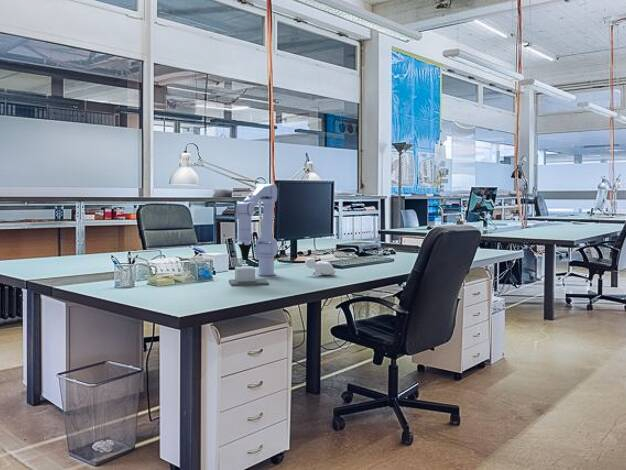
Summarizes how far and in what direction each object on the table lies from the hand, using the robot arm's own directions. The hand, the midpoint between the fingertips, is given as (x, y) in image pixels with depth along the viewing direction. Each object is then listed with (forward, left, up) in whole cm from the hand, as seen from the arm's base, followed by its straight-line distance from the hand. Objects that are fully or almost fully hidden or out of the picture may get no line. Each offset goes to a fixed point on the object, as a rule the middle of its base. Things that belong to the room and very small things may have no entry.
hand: (245, 259), depth 260 cm
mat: (+4, +1, -10) cm, 11 cm away
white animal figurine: (-13, +38, -10) cm, 41 cm away
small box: (-4, 0, -6) cm, 7 cm away
